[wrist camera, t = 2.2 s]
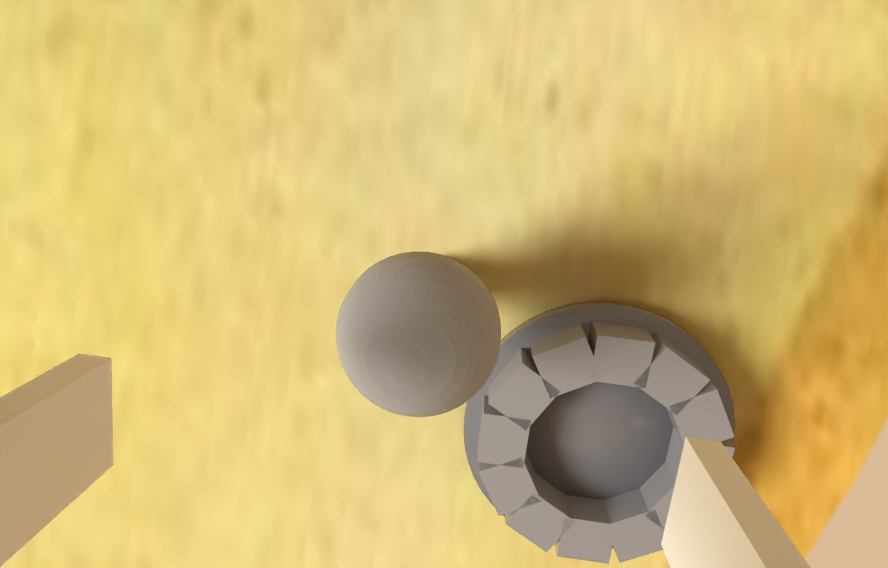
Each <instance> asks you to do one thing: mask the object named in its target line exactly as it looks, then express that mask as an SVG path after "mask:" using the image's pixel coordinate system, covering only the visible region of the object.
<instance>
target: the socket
mask: <svg viewBox="0 0 888 568" xmlns="http://www.w3.org/2000/svg"><path fill="white" fill-rule="evenodd" d="M734 426H735V419H734V411H733V404H732V400H731V396H730V393H729V389H728V387H727V385H726V382H725V380H724V378H723V376H722V373H721V372H720V370H719V369H718V367H717V366H716V364H715V362H714V361H713V359H712V358H711V357H710V356H709V355H708V353H707V352H706V351H705V350H704V349H703V348H702V347H701V345H700V344H699V343H698V342H697V341H696V340H695V339H694V338H693V337H692V336H690V335H689V334H688V333H687V332H686V331H685V330H684V329H682V328H681V327H679V326H678V325H676V324H675V323H673V322H672V321H670V320H669V319H667V318H664V317H662V316H660V315H658V314H656V313H654V312H652V311H649V310H646V309H643V308H640V307H636V306H632V305H627V304H622V303H613V302H585V303H577V304H572V305H566V306H562V307H559V308H556V309H553V310H550V311H546V312H544V313H542V314H540V315H538V316H536V317H533V318H531V319H529V320H528V321H526V322H525V323H523V324H521V325H520V326H518V327H517V328H515V329H514V330H513V331H511V332H510V333H509V334H508V335H507V336H505V337H504V338H503V339H502V340H501V341H500V351H499V355H498V359H497V362H496V365H495V368H494V370H493V372H492V374H491V375H490V377H489V379H488V380H487V382H486V383H485V384H484V386H483V387H482V388H481V389H480V390H479V391H478V392H477V393H476V394H475V395H474V396H472V397H471V398H470V399H469V400H467V403H466V408H465V419H464V442H465V450H466V454H467V458H468V463H469V465H470V468H471V471H472V473H473V476H474V478H475V480H476V482H477V483H478V485H479V487H480V489H481V491H482V492H483V493H484V495H485V496H486V497H487V499H488V500H489V501H490V503H491V504H492V505H493V506H494V507H495V509H496V511H497V513H498V515H503V516H504V517H505V520H506V524H507V525H508V526H510V527H511V528H513V529H514V530H515V531H517V532H518V533H520V534H521V535H523V536H524V537H526V538H527V539H528V540H530V541H531V542H533V543H534V544H536V545H537V546H538V547H540V548H541V549H543V550H544V551H546V552H547V551H548V550H549V549H550V548H551V547H552V546H553V545H554V544H555V547H556V554H557V556H559V557H566V558H573V559H580V560H587V561H594V562H601V563H608V564H609V559H610V555H611V550H612V548H614V550H615V552H616V555H617V557H618V559H619V562H620V563H621V562H624V561H627V560H630V559H634V558H637V557H640V556H643V555H647V554H650V553H653V552H656V551H659V550H663V548H662V545H661V542H662V538H663V534H664V529H665V525H666V521H667V516H668V512H669V507H670V503H671V499H672V494H673V490H674V486H675V481H676V477H677V473H678V468H679V464H680V460H681V455H682V451H683V447H684V442H685V438H686V437H690V438H697V439H705V440H712V441H719V442H721V443H722V444H723V446H724V447H725V448H726V450H727V451H728V453H729V454H730V455H731V457H733V454H734V450H735V447H734V446H733V441H734Z"/></svg>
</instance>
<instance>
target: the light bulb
mask: <svg viewBox="0 0 888 568" xmlns="http://www.w3.org/2000/svg"><path fill="white" fill-rule="evenodd" d="M336 341H337V347H338V352H339V356H340V360H341V363H342V366H343V368H344V370H345V372H346V374H347V376H348V378H349V379H350V381H351V382H352V384H353V385H354V386H355V388H356V389H357V390H358V391H359V392H360V393H361V394H362V395H363V396H364V397H365V398H367V399H368V400H369V401H371V402H372V403H374V404H375V405H377V406H379V407H380V408H382V409H384V410H387V411H389V412H392V413H395V414H399V415H403V416H411V417H427V416H434V415H439V414H442V413H445V412H448V411H451V410H453V409H455V408H457V407H459V406H460V405H462V404H463V403H465V402H466V401H467V400H469V399H470V398H471V397H472V396H474V395H475V394H476V393H477V392H478V391H479V390H480V389H481V388H482V387H483V386H484V384H485V383H486V382H487V380H488V379H489V377H490V375H491V374H492V372H493V370H494V368H495V365H496V362H497V359H498V355H499V351H500V341H501V324H500V317H499V312H498V309H497V306H496V303H495V301H494V298H493V296H492V295H491V293H490V291H489V290H488V288H487V287H486V285H485V284H484V283H483V281H482V280H481V279H480V278H479V277H478V276H477V275H476V274H475V273H474V272H473V271H471V270H470V269H469V268H467V267H466V266H464V265H463V264H461V263H460V262H458V261H456V260H454V259H452V258H450V257H447V256H444V255H441V254H437V253H431V252H407V253H401V254H397V255H394V256H390V257H388V258H386V259H383V260H381V261H379V262H378V263H376V264H374V265H373V266H371V267H370V268H369V269H368V270H366V271H365V272H364V273H363V274H362V275H361V276H360V277H359V278H358V279H357V281H356V282H355V283H354V285H353V286H352V288H351V289H350V291H349V292H348V294H347V295H346V297H345V299H344V301H343V303H342V305H341V308H340V311H339V314H338V318H337V325H336Z"/></svg>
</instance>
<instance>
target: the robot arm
mask: <svg viewBox="0 0 888 568" xmlns="http://www.w3.org/2000/svg"><path fill="white" fill-rule="evenodd" d="M112 465H113V427H112V372H111V358H107V357H100V356H92V355H85V354H78V355H76V356H74V357H72V358H70V359H69V360H67V361H65V362H63V363H62V364H60V365H58V366H56V367H54V368H53V369H51V370H49V371H47V372H45V373H44V374H42V375H40V376H38V377H37V378H35V379H33V380H31V381H29V382H28V383H26V384H24V385H22V386H20V387H19V388H17V389H15V390H13V391H11V392H10V393H8V394H6V395H4V396H3V397H1V398H0V566H2V565H3V564H4V563H5V562H6V561H7V560H8V559H9V558H10V557H12V556H13V555H14V554H15V553H16V552H17V551H18V550H19V549H20V548H22V547H23V546H24V545H25V544H26V543H27V542H28V541H29V540H30V539H31V538H33V537H34V536H35V535H36V534H37V533H38V532H39V531H40V530H41V529H43V528H44V527H45V526H46V525H47V524H48V523H49V522H50V521H51V520H53V519H54V518H55V517H56V516H57V515H58V514H59V513H60V512H61V511H63V510H64V509H65V508H66V507H67V506H68V505H69V504H70V503H71V502H73V501H74V500H75V499H76V498H77V497H78V496H79V495H80V494H81V493H83V492H84V491H85V490H86V489H87V488H88V487H89V486H90V485H91V484H92V483H94V482H95V481H96V480H97V479H98V478H99V477H100V476H101V475H102V474H104V473H105V472H106V471H107V470H108V469H109V468H110V467H111V466H112ZM661 545H662V548H663V550H664V553H665V555H666V558H667V560H668V563H669V565H670V568H810V566H809V565H808V564H807V562H806V561H805V559H804V558H803V556H802V555H801V554H800V552H799V551H798V549H797V548H796V547H795V545H794V544H793V542H792V541H791V540H790V538H789V537H788V535H787V534H786V533H785V531H784V530H783V528H782V527H781V526H780V524H779V523H778V521H777V520H776V519H775V517H774V516H773V514H772V513H771V512H770V510H769V509H768V507H767V506H766V505H765V503H764V502H763V500H762V499H761V498H760V496H759V495H758V493H757V492H756V491H755V489H754V488H753V486H752V485H751V484H750V482H749V481H748V479H747V478H746V476H745V475H744V474H743V472H742V471H741V469H740V468H739V467H738V465H737V464H736V462H735V461H734V460H733V458H732V457H731V455H730V454H729V453H728V451H727V450H726V448H725V447H724V446H723V444H722V443H721V442H719V441H712V440H705V439H697V438H690V437H686V438H685V442H684V447H683V451H682V455H681V460H680V464H679V468H678V473H677V477H676V481H675V486H674V490H673V494H672V499H671V503H670V507H669V512H668V516H667V521H666V525H665V529H664V534H663V538H662V542H661Z"/></svg>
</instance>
